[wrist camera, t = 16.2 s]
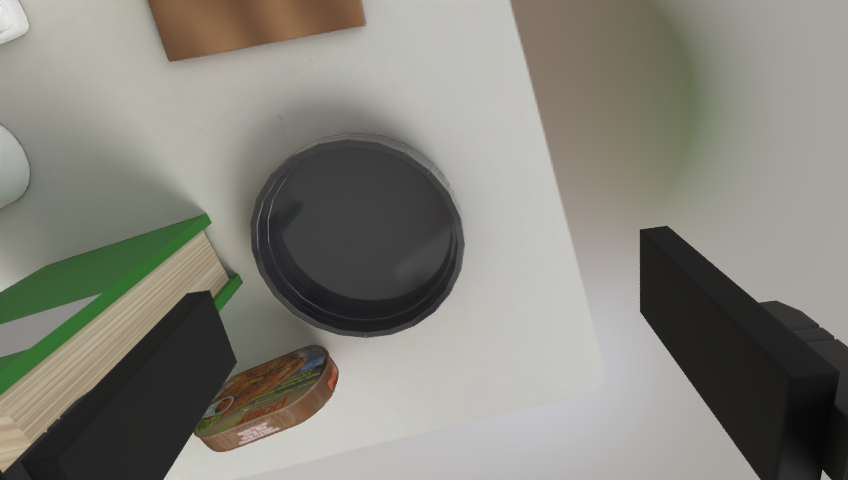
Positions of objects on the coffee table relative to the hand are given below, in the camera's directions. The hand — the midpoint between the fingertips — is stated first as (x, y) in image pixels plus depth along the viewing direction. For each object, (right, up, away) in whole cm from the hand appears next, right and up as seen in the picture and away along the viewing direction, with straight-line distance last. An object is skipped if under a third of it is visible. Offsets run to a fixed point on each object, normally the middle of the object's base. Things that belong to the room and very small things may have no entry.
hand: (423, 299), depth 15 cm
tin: (-15, -12, +37) cm, 41 cm away
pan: (-6, +3, +30) cm, 31 cm away
